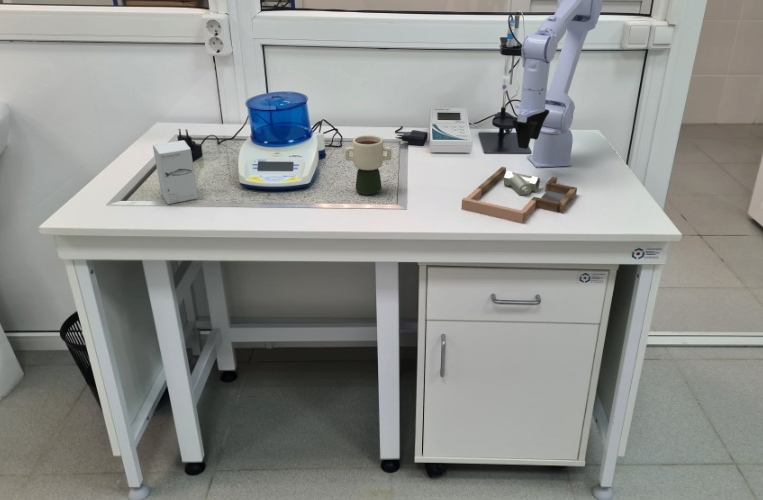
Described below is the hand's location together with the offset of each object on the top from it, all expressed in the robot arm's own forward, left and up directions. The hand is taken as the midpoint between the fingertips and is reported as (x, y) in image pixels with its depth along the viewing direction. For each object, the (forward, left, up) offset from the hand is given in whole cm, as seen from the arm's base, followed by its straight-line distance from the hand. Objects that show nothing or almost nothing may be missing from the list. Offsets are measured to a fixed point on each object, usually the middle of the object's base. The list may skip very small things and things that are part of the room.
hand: (528, 143), depth 156 cm
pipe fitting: (+4, +7, -10) cm, 12 cm away
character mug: (+40, +3, -10) cm, 41 cm away
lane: (+2, +9, -9) cm, 13 cm away
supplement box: (+85, +1, -10) cm, 85 cm away
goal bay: (+11, +16, -9) cm, 22 cm away
